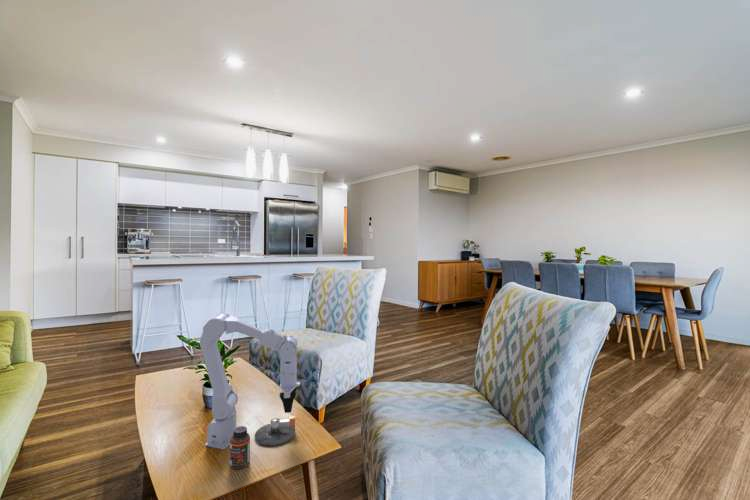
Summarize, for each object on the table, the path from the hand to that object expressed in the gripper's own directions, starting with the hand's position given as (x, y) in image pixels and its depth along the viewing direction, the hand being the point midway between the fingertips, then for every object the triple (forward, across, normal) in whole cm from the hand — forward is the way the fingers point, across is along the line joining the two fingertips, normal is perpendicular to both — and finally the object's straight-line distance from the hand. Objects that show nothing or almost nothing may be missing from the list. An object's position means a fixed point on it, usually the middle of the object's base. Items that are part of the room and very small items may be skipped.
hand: (288, 409), depth 128 cm
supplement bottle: (+10, -14, +14) cm, 22 cm away
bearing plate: (+10, +2, +5) cm, 11 cm away
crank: (+9, +2, +2) cm, 9 cm away
